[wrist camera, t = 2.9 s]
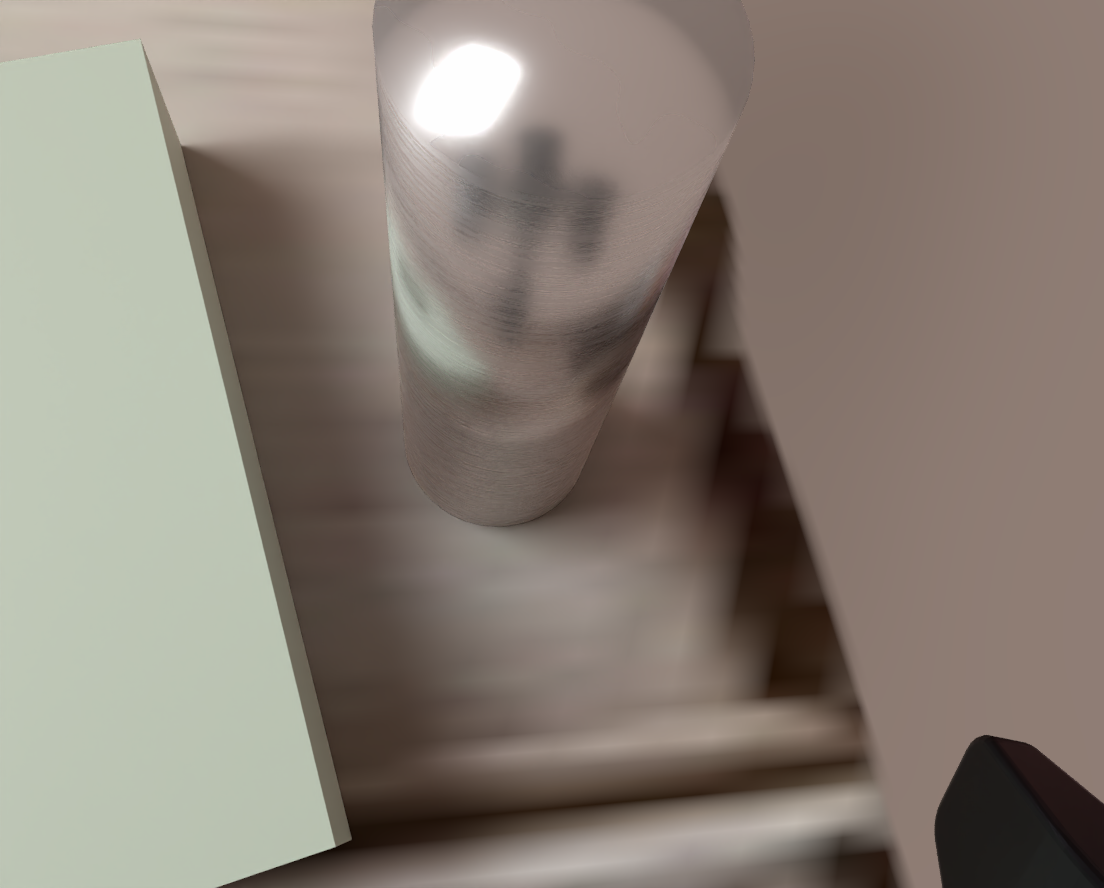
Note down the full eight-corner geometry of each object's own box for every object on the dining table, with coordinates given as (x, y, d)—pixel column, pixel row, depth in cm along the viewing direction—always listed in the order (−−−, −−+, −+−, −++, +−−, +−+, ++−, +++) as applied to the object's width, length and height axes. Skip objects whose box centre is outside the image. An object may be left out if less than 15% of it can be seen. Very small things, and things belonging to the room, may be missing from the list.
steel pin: (611, 497, 22) (811, 154, 10) (433, 548, 21) (433, 237, 10) (554, 335, 23) (677, -138, 12) (383, 378, 22) (329, -83, 11)
